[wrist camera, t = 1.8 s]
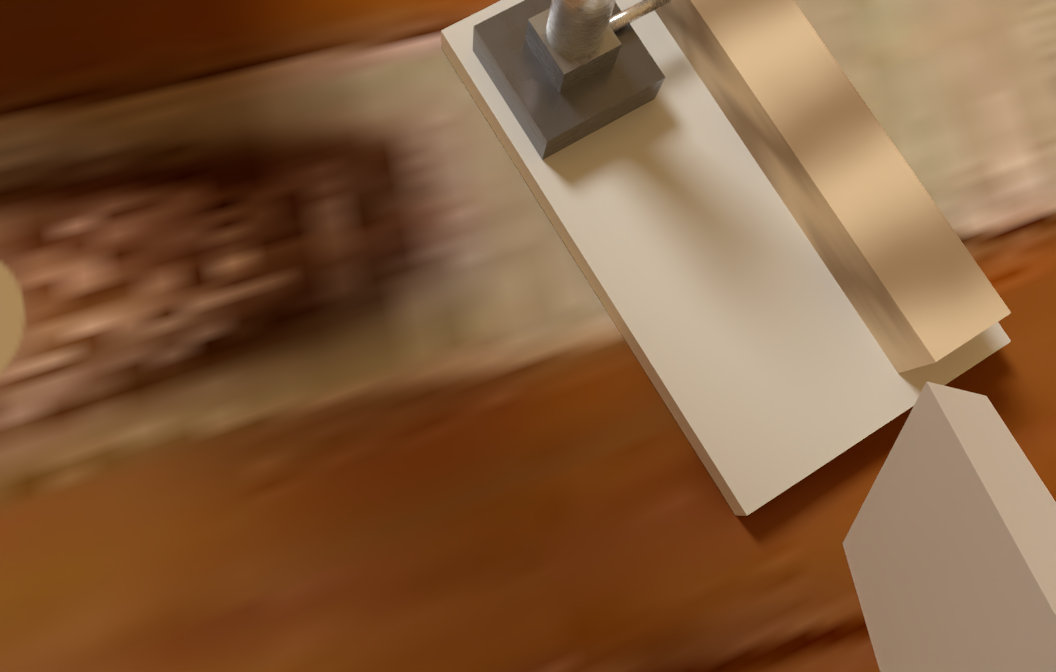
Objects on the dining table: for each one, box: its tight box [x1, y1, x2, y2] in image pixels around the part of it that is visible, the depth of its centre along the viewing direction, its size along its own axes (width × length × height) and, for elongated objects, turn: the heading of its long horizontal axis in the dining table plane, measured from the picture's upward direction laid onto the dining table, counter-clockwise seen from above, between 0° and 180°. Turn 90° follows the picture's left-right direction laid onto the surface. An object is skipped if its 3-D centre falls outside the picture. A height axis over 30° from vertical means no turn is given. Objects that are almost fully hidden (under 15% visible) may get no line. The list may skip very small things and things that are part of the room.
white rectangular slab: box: [441, 0, 1011, 516], centre depth 39 cm, size 25×14×2 cm, turn 31°
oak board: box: [655, 0, 1011, 373], centre depth 38 cm, size 22×4×3 cm, turn 31°
